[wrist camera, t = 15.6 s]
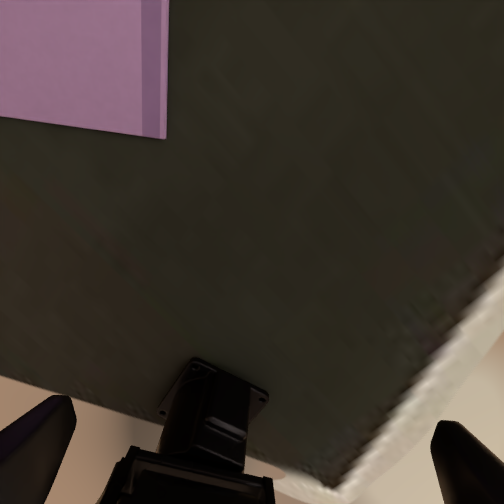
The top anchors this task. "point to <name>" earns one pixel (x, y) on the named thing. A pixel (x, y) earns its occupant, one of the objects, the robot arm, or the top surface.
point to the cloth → (86, 63)
